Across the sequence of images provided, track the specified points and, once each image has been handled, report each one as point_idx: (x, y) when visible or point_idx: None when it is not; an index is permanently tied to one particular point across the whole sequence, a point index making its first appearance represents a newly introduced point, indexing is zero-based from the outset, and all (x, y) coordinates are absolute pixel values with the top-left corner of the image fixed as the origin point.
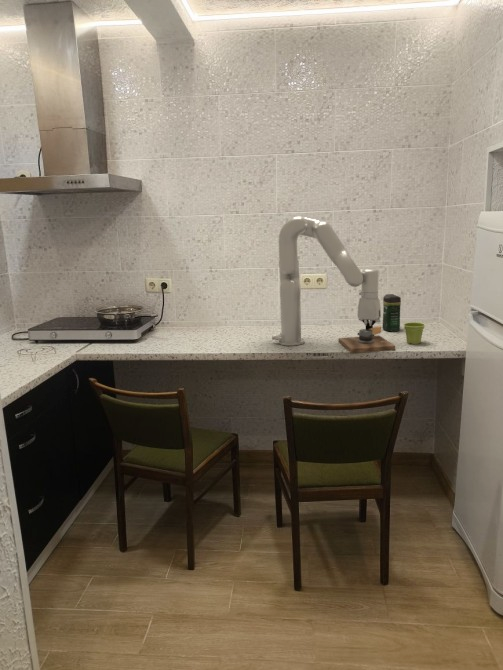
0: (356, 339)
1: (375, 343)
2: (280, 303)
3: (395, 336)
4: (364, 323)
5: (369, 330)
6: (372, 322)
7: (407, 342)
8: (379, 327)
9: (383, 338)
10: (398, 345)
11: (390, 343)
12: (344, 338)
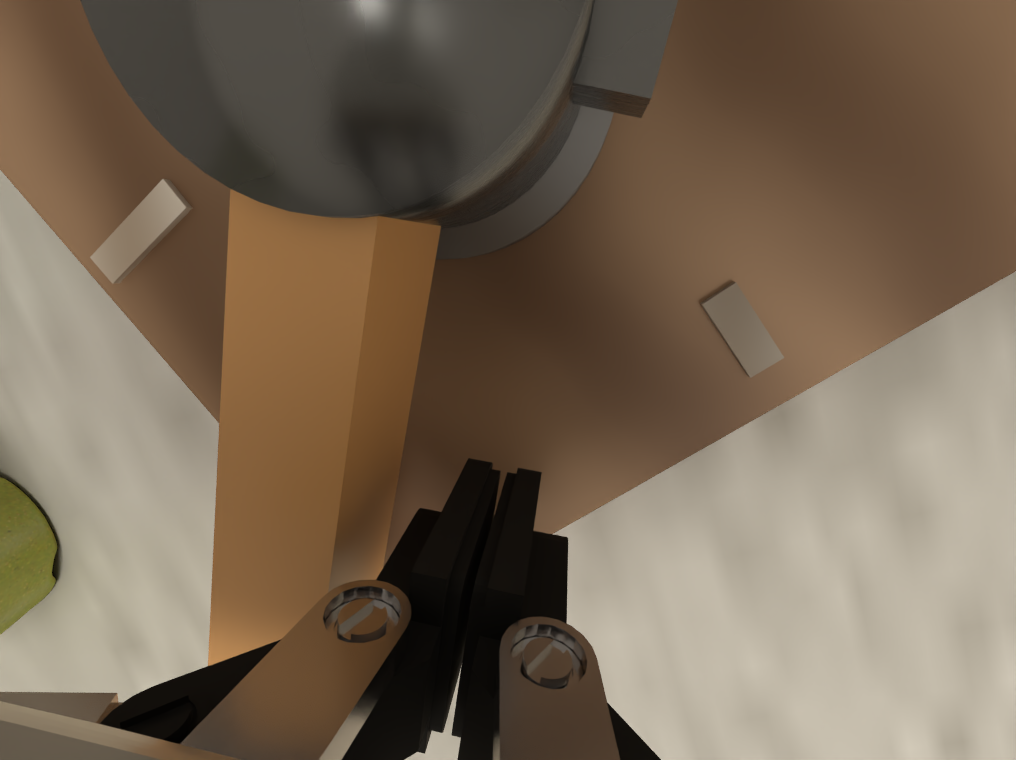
0: (692, 205)
1: None
2: None
3: None
4: (601, 690)
5: (204, 14)
6: (247, 711)
7: (25, 499)
8: (216, 644)
9: None
10: (61, 342)
11: (4, 146)
12: (1007, 192)
